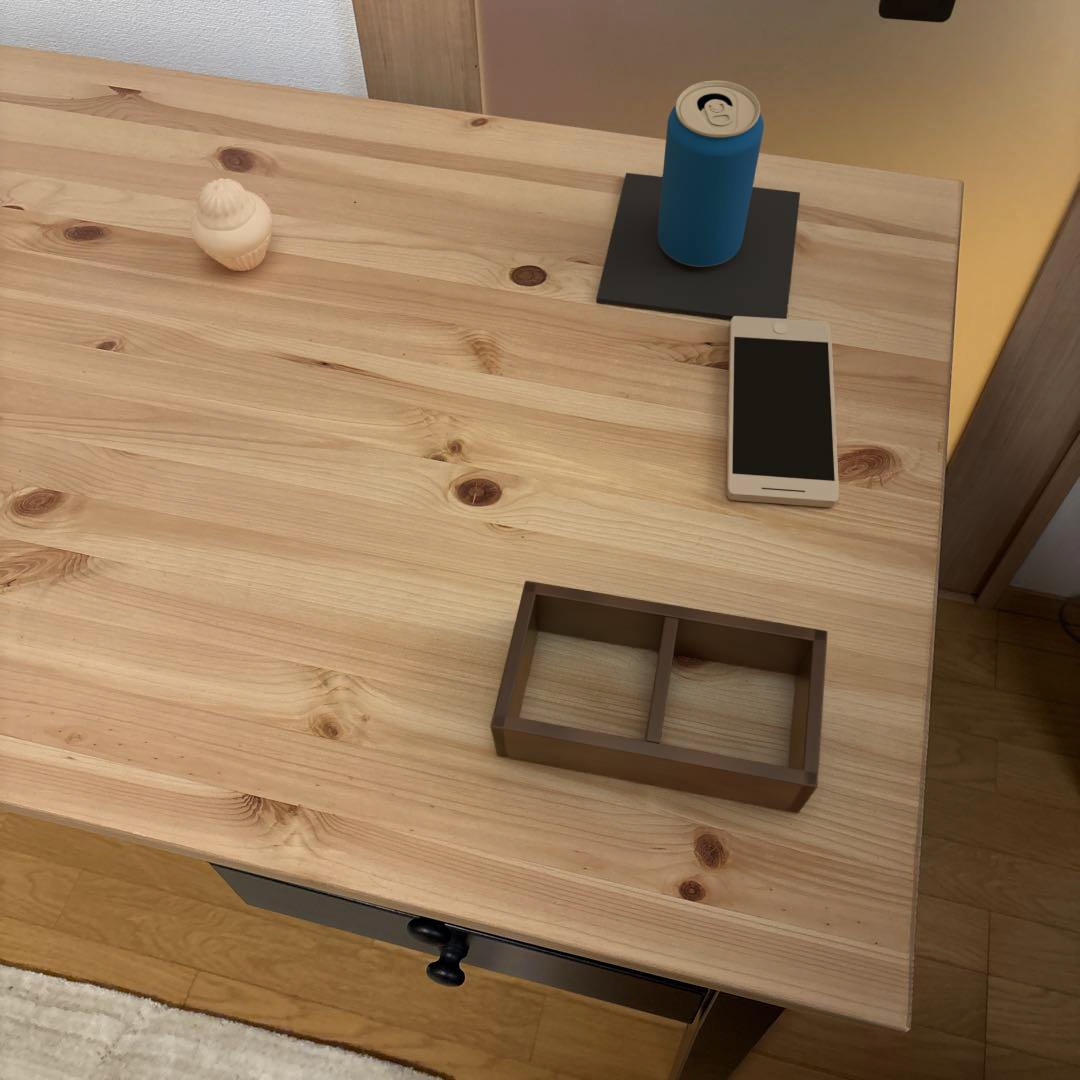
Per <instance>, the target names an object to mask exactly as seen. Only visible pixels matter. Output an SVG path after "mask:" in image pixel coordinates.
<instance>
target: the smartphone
mask: <svg viewBox="0 0 1080 1080" xmlns="http://www.w3.org/2000/svg"><path fill="white" fill-rule="evenodd" d="M728 333H729V334H728V383H727V384H728V385H727V386H728V388H727V389H728V391H727V393H728V394H727V440H726V441H727V444H726V445H727V448H726V450H727V451H726V497H727V498H728V499H729V500H730V501H738V502H754V503H766V504H780V505H793V506H808V507H819V508H834V507H835V506H836V505H837V502H838V500H839V497H840V483H839V465H838V464H839V461H838V441H837V424H836V423H837V420H836V401H835V384H834V383H835V382H834V364H833V341H832V327H831V324H830V323H829V321H826V320H811V319H810V320H809V319H808V320H807V319H793V318H791V319H790V318H786V319H778V318H761V317H744V316H734V317H733V318H732V319H731V320H730V325H729V332H728Z"/></svg>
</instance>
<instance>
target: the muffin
mask: <svg viewBox="0 0 1080 1080" xmlns="http://www.w3.org/2000/svg"><path fill="white" fill-rule="evenodd" d="M197 199H198V201H197V205H196V206H195V208H194V210H193V211H192V212H191V215H190V220H189V232H190V235H191V237H192V240H194V242H195V243H196V244H197V246H198V247H200V248H201V249H202V250H203V252H204V253H206V254H207V255H208V256H209V257H211V258H212V259H213V260H215V261H216V262H218V263H219V264H221V265H222V266H224V267H225V268H227V269H229V270H231V271H235V272H238V271H239V272H246V271H250V270H253V269H254V268H257V266H260V264H262V262H263V261H264V259H265V257H266V253H267V251H268V250H267V249H268V247H269V244H270V240H271V237H272V232H273V229H272V226H273V214H272V211H271V209H270V207H269V205H268V204H267V203H266V202H265V200H264V199H262V198H261V197H260V196H259V195H257V194H256V193H254V192H252V191H249V190H247V189H246V190H245V188H244V187H243V185H242V184H241V183H240V182H238V181H235V180H233V179H231V178H223V177H220V178H218V179H213V180H212V181H211V182H206V183H205V186H202V187H201V188H200V191H199V193H198V194H197Z"/></svg>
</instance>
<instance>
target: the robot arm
mask: <svg viewBox="0 0 1080 1080" xmlns="http://www.w3.org/2000/svg"><path fill="white" fill-rule="evenodd" d="M956 1H957V0H879V2H878V15H879V17H881V18H882V19H886V20H897V21H899V20H902V21H912V22H925V23H926V22H927V23H940V24H941V23H945V22H947V21H948V20H949V19H950V18H951V16H952V14H953V10H954V7H955V4H956Z"/></svg>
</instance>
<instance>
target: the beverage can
mask: <svg viewBox="0 0 1080 1080" xmlns="http://www.w3.org/2000/svg"><path fill="white" fill-rule="evenodd" d="M764 127H765V125H764V119H763V115H762V113H761V104H760V102H759V99H758V98H757V97H756V95H755V94H754V92H752V91H751V90H749V89H748V88H746V87H744V86H743V85H740V84H738V83H735V82H732V81H726V80H717V79H716V80H706V81H701V82H697V83H694V84H692V85H690V86H688V87H686V88H685V89H684V90H683V91H682V92H681V93H680V94H679V95H678V97H677V100H676V102H675V105H674V107H672V109H671V111H670V113H669V115H668V118H667V125H666V134H665V135H666V136H665V146H664V158H663V166H662V167H663V168H662V177H663V178H662V189H661V200H660V211H659V222H658V232H657V236H658V242H659V244H660V246H661V248H662V249H663V251H664V252H665V253H666V254H667V255H668V256H670V257H671V258H673V259H674V260H676V261H678V262H680V263H683V264H686V265H690V266H696V267H705V266H713V265H717V264H720V263H723V262H725V261H727V260H729V259H730V258H732V257H733V256H734V255H735V254H736V253H737V252H738V250H739V249H740V247H741V244H742V241H743V235H744V230H745V225H746V220H747V214H748V209H749V204H750V198H751V193H752V188H753V187H754V182H755V177H756V172H757V168H758V167H757V166H758V161H759V157H760V150H761V145H762V140H763V134H764Z"/></svg>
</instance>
